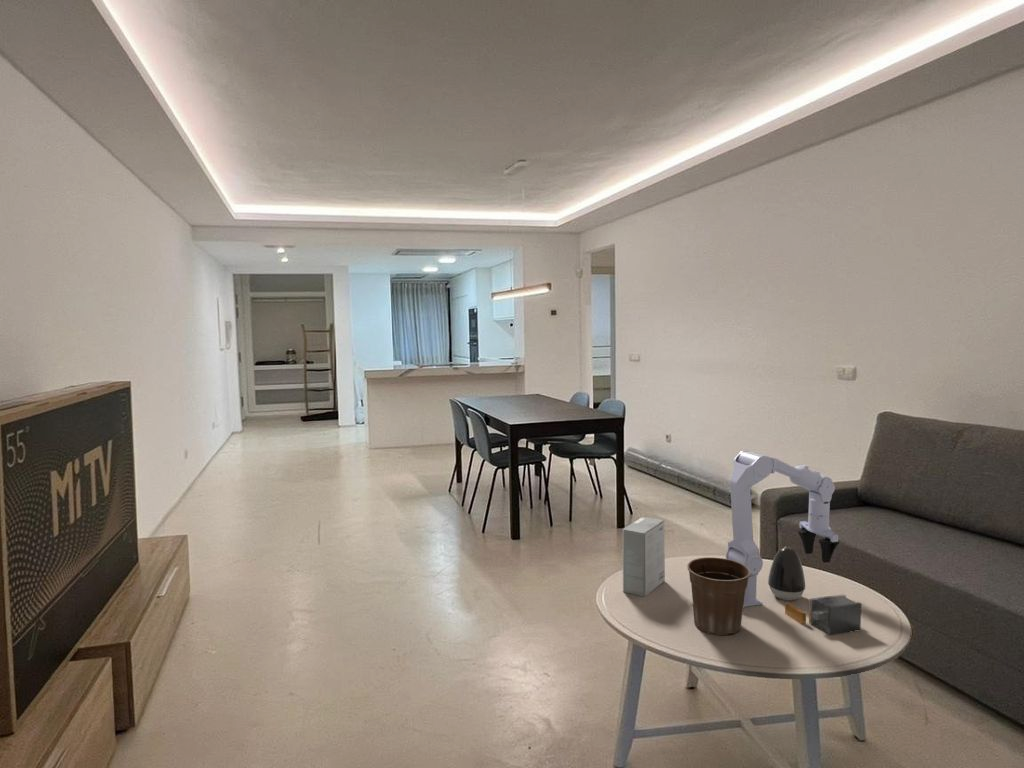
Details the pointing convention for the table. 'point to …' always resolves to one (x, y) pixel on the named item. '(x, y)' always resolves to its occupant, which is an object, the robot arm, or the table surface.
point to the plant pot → (718, 594)
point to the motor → (829, 614)
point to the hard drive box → (643, 556)
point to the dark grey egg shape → (786, 575)
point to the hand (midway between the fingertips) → (817, 557)
